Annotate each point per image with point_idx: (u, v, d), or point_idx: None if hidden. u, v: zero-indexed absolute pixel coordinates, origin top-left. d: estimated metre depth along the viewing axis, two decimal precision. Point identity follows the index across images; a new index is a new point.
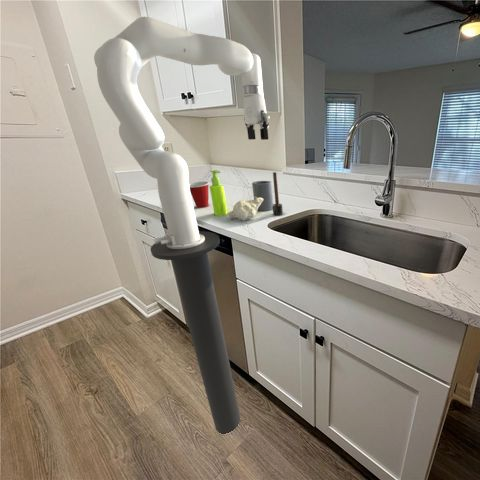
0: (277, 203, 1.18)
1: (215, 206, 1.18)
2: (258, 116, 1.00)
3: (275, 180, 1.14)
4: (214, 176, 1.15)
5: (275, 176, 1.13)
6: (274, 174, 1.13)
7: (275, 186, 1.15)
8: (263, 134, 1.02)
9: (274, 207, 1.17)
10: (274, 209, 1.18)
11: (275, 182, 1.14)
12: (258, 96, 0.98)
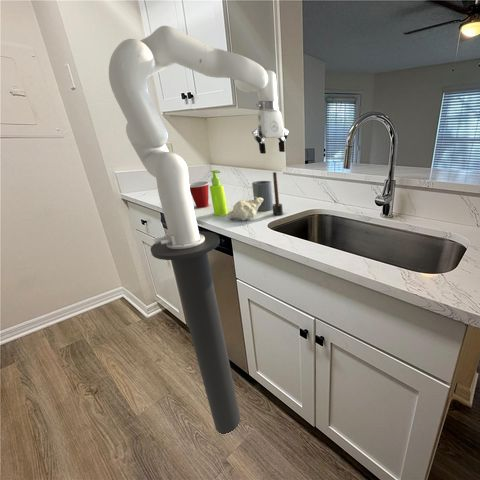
0: (277, 203, 1.18)
1: (215, 206, 1.18)
2: None
3: (275, 180, 1.14)
4: (214, 176, 1.15)
5: (275, 176, 1.13)
6: (274, 174, 1.13)
7: (275, 186, 1.15)
8: (284, 147, 1.12)
9: (274, 207, 1.17)
10: (274, 209, 1.18)
11: (275, 182, 1.14)
12: None
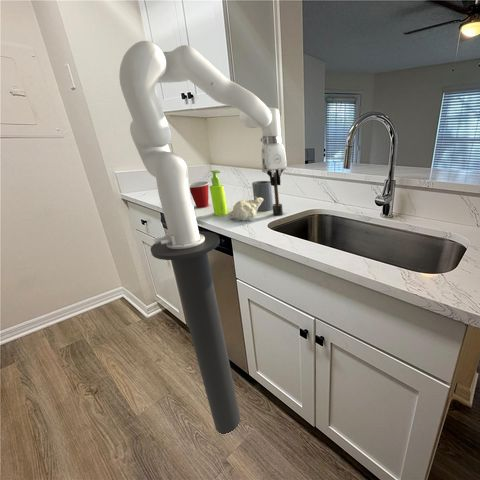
0: (277, 203, 1.18)
1: (215, 206, 1.18)
2: None
3: None
4: (214, 176, 1.15)
5: (275, 176, 1.13)
6: (274, 174, 1.13)
7: (275, 186, 1.15)
8: (279, 180, 1.15)
9: (274, 207, 1.17)
10: (274, 209, 1.18)
11: None
12: None
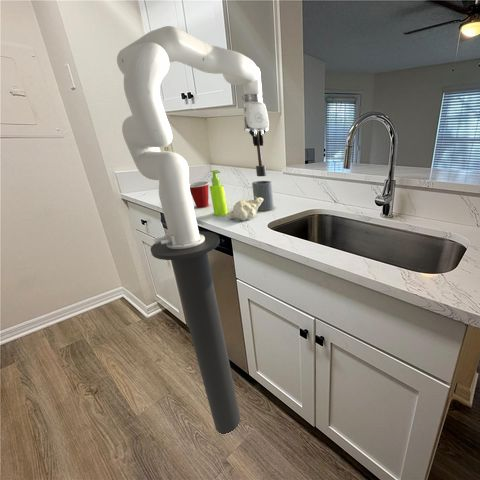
0: (260, 164, 1.21)
1: (215, 206, 1.18)
2: None
3: (258, 140, 1.17)
4: (214, 176, 1.15)
5: (258, 136, 1.16)
6: None
7: (258, 146, 1.18)
8: (262, 141, 1.18)
9: (257, 168, 1.20)
10: (257, 170, 1.21)
11: None
12: None
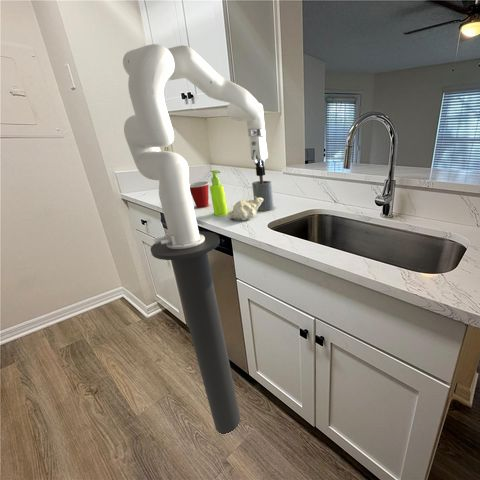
0: None
1: (215, 206, 1.18)
2: None
3: None
4: (214, 176, 1.15)
5: None
6: None
7: (261, 176, 1.23)
8: None
9: None
10: None
11: None
12: None
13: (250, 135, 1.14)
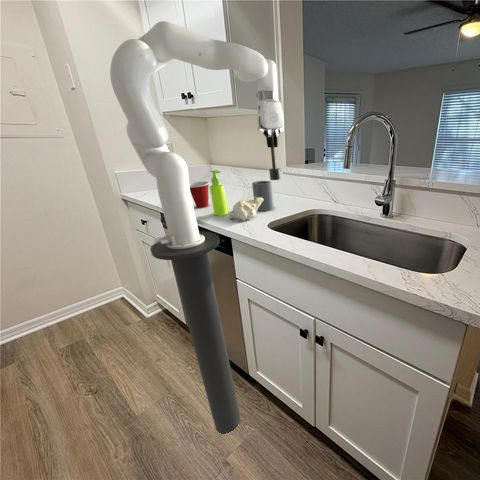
0: (274, 167, 1.12)
1: (215, 206, 1.18)
2: None
3: None
4: (214, 176, 1.15)
5: (272, 137, 1.07)
6: (271, 134, 1.07)
7: (272, 148, 1.09)
8: (276, 142, 1.09)
9: (271, 171, 1.11)
10: (271, 173, 1.12)
11: None
12: None
13: (259, 99, 1.01)
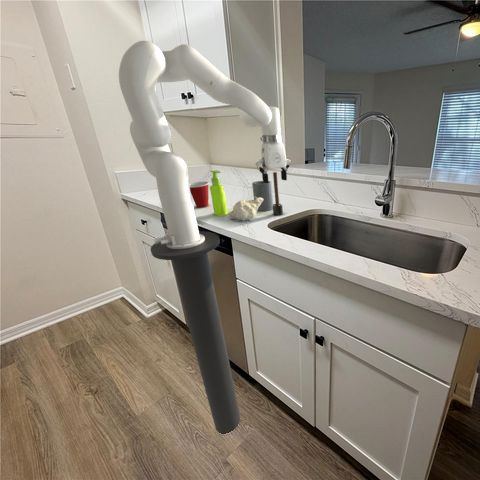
0: (277, 203, 1.18)
1: (215, 206, 1.18)
2: None
3: (275, 180, 1.14)
4: (214, 176, 1.15)
5: (275, 176, 1.13)
6: (274, 174, 1.13)
7: (275, 186, 1.15)
8: None
9: (274, 207, 1.17)
10: (274, 209, 1.18)
11: (275, 182, 1.14)
12: None
13: (263, 141, 1.07)
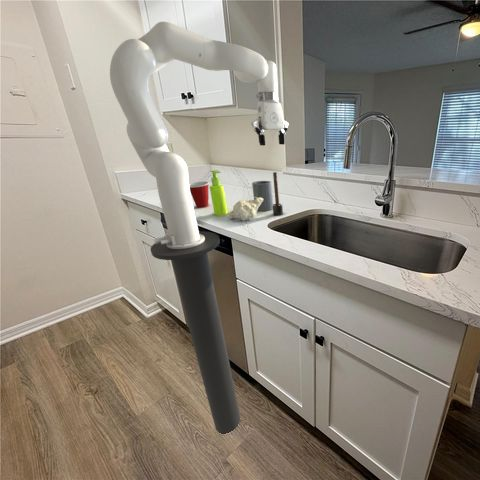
0: (277, 203, 1.18)
1: (215, 206, 1.18)
2: None
3: (275, 180, 1.14)
4: (214, 176, 1.15)
5: (275, 176, 1.13)
6: (274, 174, 1.13)
7: (275, 186, 1.15)
8: (283, 139, 1.11)
9: (274, 207, 1.17)
10: (274, 209, 1.18)
11: (275, 182, 1.14)
12: None
13: (259, 100, 1.01)
